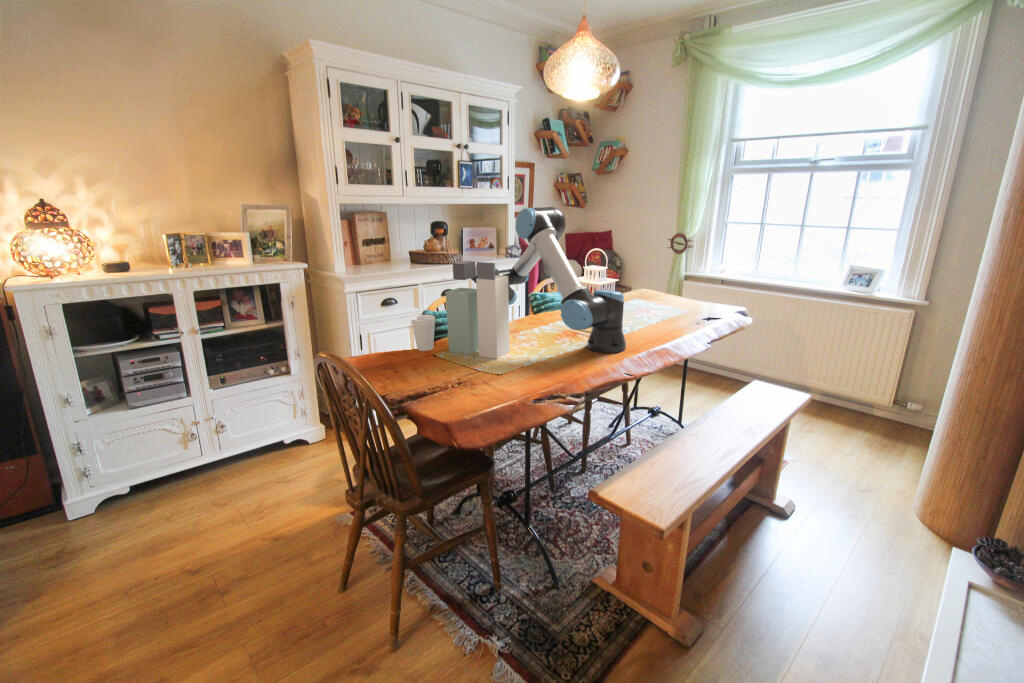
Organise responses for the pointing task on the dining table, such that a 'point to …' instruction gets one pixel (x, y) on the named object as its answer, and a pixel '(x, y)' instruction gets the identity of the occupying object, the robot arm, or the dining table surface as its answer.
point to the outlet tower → (492, 311)
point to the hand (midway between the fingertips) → (470, 266)
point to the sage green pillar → (462, 320)
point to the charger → (464, 270)
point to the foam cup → (423, 331)
